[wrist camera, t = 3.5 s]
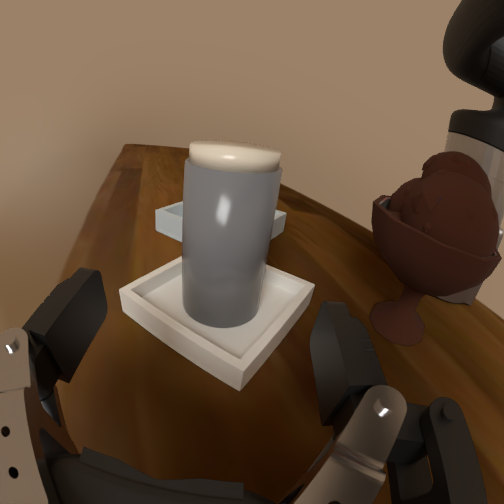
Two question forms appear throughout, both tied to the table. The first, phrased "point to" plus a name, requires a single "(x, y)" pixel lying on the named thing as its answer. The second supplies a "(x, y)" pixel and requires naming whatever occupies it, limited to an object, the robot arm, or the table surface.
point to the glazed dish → (173, 215)
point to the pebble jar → (227, 229)
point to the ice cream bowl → (434, 239)
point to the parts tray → (210, 338)
